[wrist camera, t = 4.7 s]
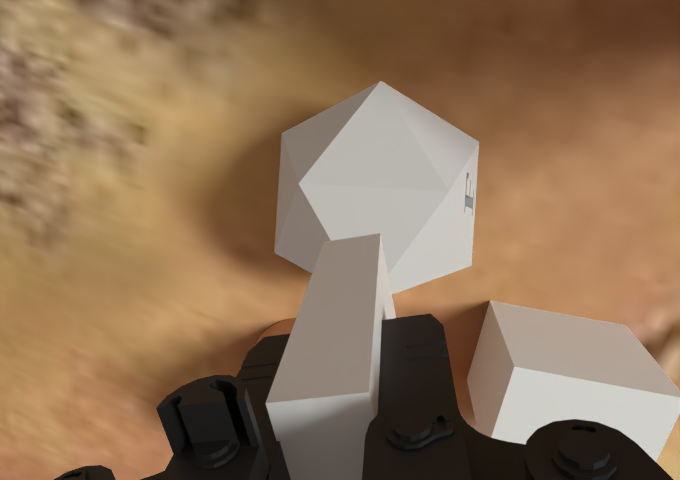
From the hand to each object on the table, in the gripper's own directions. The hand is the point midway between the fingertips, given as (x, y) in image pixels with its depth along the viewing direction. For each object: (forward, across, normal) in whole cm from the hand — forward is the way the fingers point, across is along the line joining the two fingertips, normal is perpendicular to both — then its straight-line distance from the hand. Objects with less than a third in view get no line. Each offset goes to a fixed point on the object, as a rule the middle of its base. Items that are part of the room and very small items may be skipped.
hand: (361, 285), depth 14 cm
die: (+12, 0, 0) cm, 12 cm away
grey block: (+12, -7, +11) cm, 18 cm away
